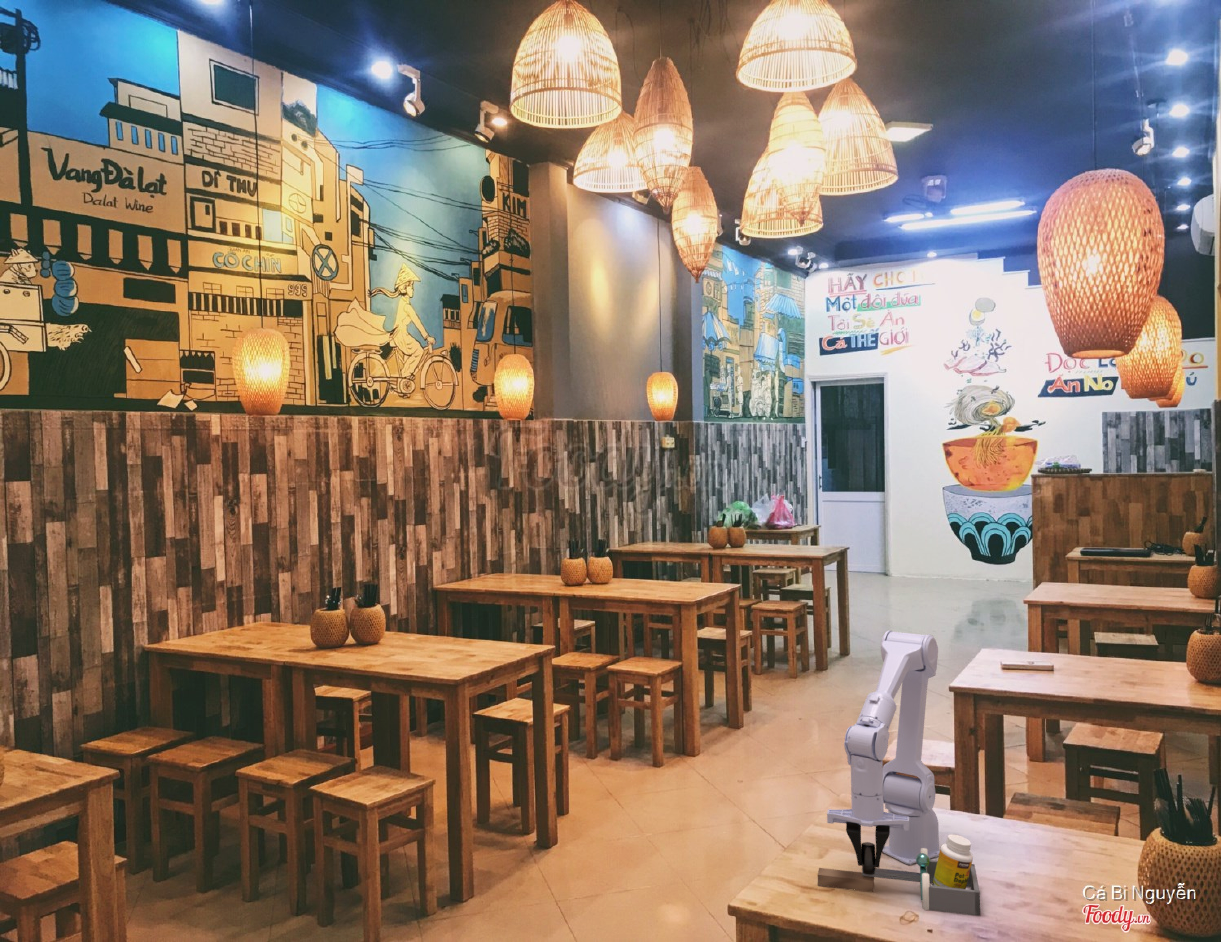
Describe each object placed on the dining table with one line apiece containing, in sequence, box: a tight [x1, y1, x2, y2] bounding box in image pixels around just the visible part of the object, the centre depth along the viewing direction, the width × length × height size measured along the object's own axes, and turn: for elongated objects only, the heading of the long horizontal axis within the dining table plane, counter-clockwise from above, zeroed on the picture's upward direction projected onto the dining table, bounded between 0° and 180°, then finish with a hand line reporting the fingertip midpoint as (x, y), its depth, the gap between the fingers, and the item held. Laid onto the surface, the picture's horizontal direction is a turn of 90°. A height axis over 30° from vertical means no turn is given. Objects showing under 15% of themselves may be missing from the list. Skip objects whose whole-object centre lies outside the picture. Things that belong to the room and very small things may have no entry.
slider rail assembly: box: [861, 841, 931, 901], centre depth 166 cm, size 12×7×8 cm, turn 72°
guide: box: [817, 867, 875, 893], centre depth 169 cm, size 10×3×2 cm, turn 72°
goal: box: [921, 848, 981, 917], centre depth 164 cm, size 9×12×6 cm
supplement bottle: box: [931, 834, 974, 889], centre depth 164 cm, size 6×6×10 cm
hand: (868, 864), depth 168 cm, fingers closed on slider rail assembly, 2 cm apart
